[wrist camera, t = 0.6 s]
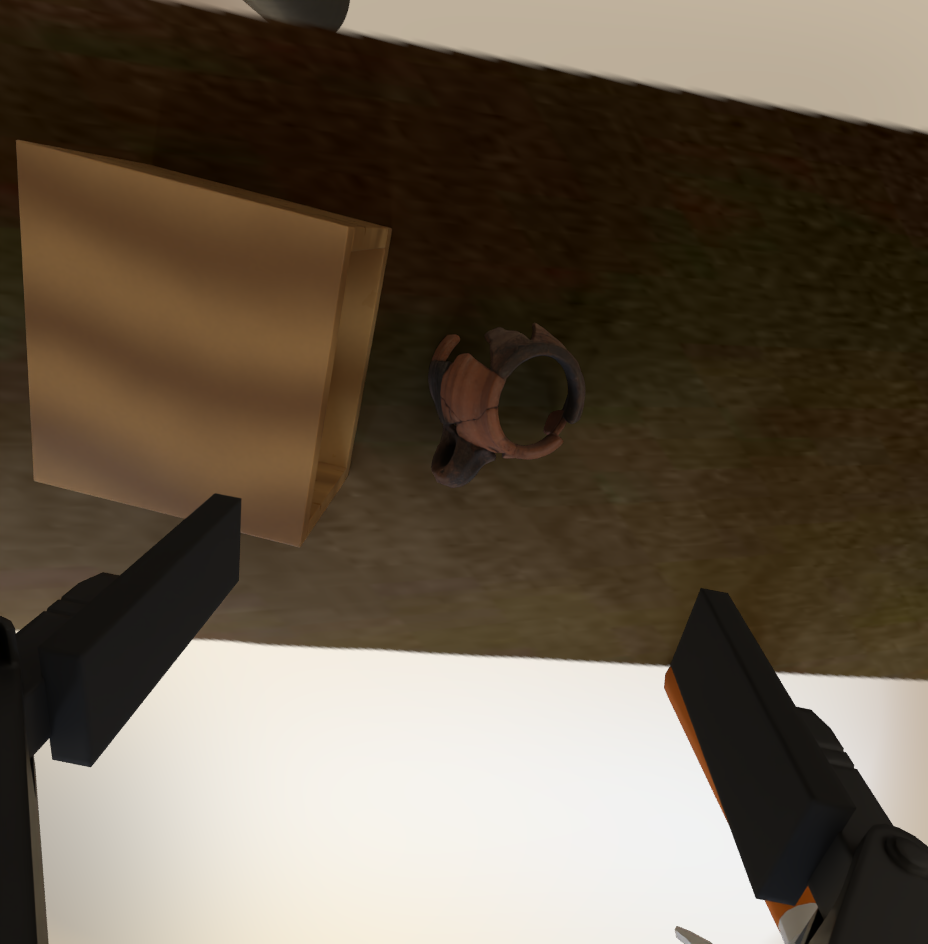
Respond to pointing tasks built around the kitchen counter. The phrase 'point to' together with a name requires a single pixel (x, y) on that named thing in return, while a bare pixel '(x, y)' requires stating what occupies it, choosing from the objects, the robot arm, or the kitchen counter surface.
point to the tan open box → (192, 338)
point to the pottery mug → (492, 402)
